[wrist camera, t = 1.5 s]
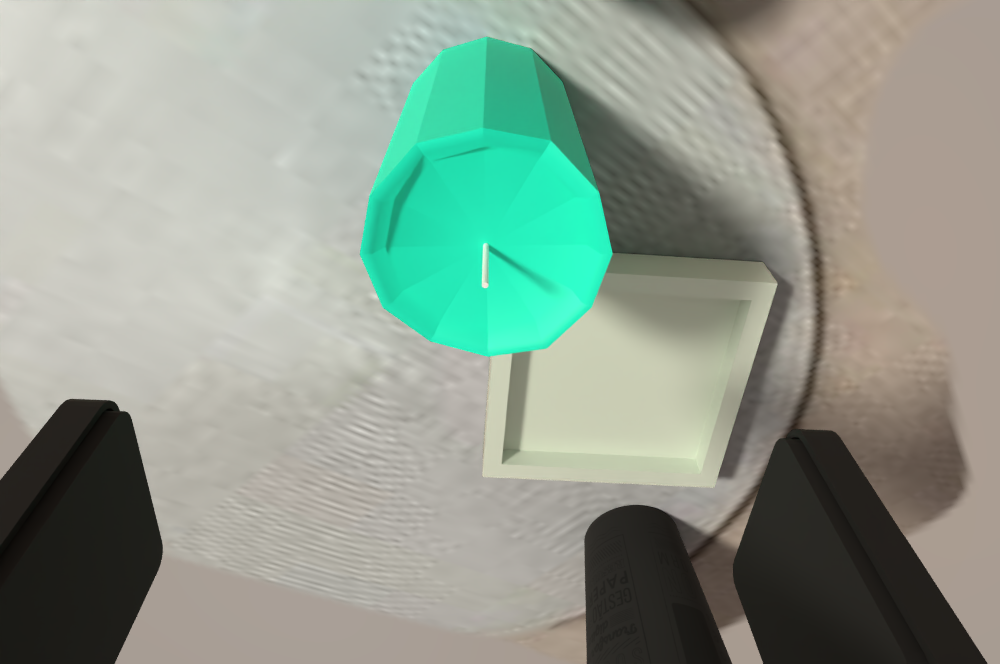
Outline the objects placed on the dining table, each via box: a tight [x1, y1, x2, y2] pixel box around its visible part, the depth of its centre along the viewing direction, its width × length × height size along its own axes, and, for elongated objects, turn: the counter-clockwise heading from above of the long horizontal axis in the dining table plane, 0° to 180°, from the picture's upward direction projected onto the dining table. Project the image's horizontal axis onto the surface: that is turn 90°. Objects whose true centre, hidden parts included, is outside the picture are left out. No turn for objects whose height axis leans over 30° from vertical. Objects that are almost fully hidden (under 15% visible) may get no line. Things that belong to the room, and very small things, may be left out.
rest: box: [482, 253, 778, 488], centre depth 31 cm, size 11×11×2 cm
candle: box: [360, 37, 613, 357], centre depth 21 cm, size 6×6×12 cm
